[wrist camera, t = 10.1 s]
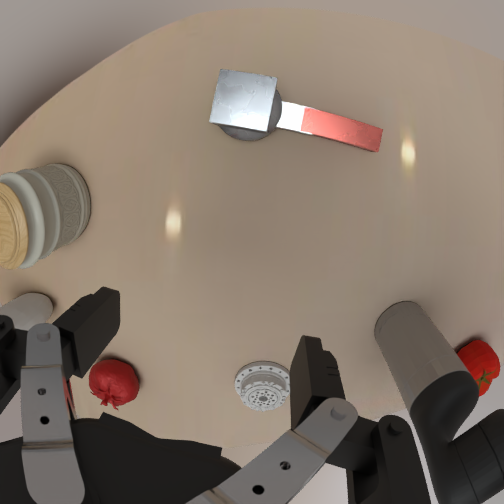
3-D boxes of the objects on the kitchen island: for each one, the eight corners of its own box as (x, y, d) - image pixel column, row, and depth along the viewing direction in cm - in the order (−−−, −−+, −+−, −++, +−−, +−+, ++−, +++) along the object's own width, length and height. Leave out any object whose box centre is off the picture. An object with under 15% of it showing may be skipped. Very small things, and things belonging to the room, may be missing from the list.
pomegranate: (94, 347, 50) (71, 376, 41) (139, 357, 49) (119, 391, 40) (105, 384, 53) (86, 413, 44) (147, 394, 52) (131, 427, 43)
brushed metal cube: (276, 89, 31) (277, 77, 25) (267, 134, 33) (266, 131, 27) (228, 82, 31) (220, 69, 25) (219, 126, 33) (209, 121, 27)
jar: (31, 226, 42) (-40, 262, 25) (42, 154, 37) (-40, 169, 21) (85, 253, 43) (15, 304, 26) (100, 175, 38) (16, 198, 22)
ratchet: (212, 135, 36) (200, 132, 29) (224, 77, 33) (215, 62, 27) (367, 169, 36) (386, 174, 30) (379, 113, 33) (400, 107, 27)
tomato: (471, 374, 48) (488, 401, 39) (434, 375, 48) (450, 406, 39) (494, 335, 44) (516, 359, 35) (458, 332, 44) (481, 360, 35)
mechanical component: (300, 366, 48) (242, 354, 47) (302, 384, 43) (240, 372, 43) (281, 403, 51) (230, 392, 51) (282, 420, 47) (227, 410, 46)
